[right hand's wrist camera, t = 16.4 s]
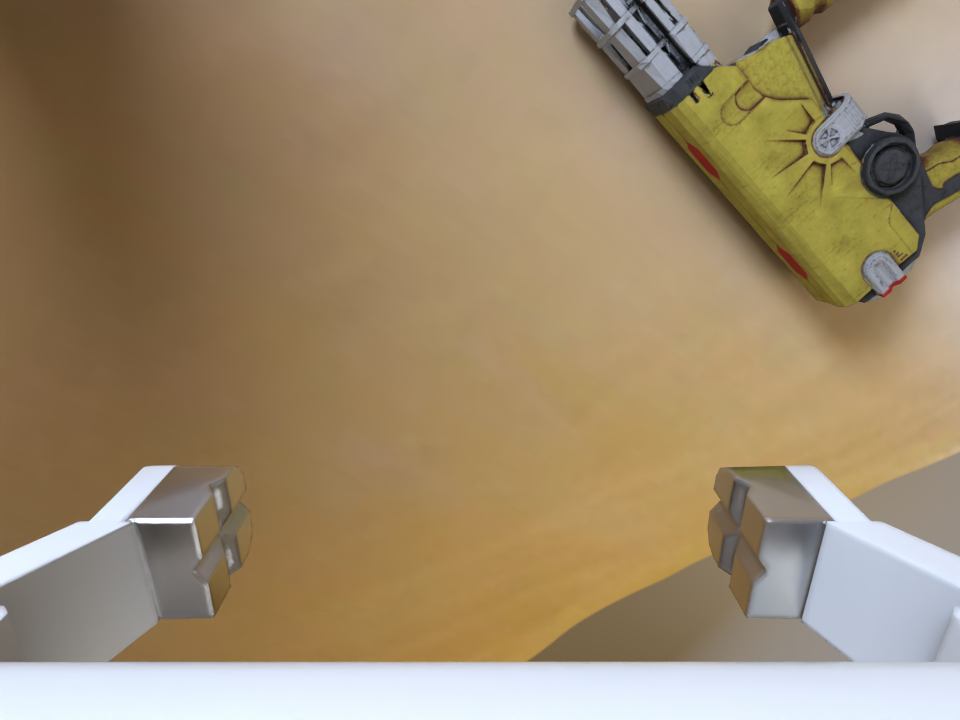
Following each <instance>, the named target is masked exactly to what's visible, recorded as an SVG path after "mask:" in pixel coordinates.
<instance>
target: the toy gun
mask: <svg viewBox="0 0 960 720" xmlns="http://www.w3.org/2000/svg"><path fill="white" fill-rule="evenodd" d="M603 1H604V3H605V4H606V5H607V6H608V7H609V9H608V10H607V11H606V10H605V8H604V7H603V5H602V4H601V2H600V1H599V0H576V2H575V4H574V6H573V7H572V9H571V11H570V12H569V14H570V16H571V17H573V16H574V17H575V19H576V20H577V21H578V22H579V23H580V24H581V25H582V27H583V28H584V29H585V30H586V31H587V32H588V34H589V35H590V36H591V37H592V38H593V39H594V40H595V42H596V43H597V45H596V46H597V47H598V48H599V49H600V48H602V50H603V51H604V52H605V53H606V54H607V55H608V56H609V57H610V59H611V60H612V61H613V62H614V63H615V64H616V65H617V67H618V68H619V69H620V70H621V71H622V72H623V73H624V74H625V75H624V77H625V78H626V80H628V79H629V80H630V81H631V83H632V84H633V85H634V86H635V88H636V89H637V90H638V91H639V92H640V94H641V95H642V96H643V97H644V100H645V101H646V102H647V104H646V108H647V109H648V110H649V111H650V112H651V113H652V114H653V115H654V116H655V117H656V118H657V120H658V121H659V122H660V123H661V124H662V125H663V126H664V127H665V129H666V130H667V131H668V132H669V133H670V134H671V135H672V137H673V138H674V139H675V140H676V141H677V142H678V143H679V145H680V146H681V147H682V148H683V149H684V150H685V151H686V152H687V154H688V155H689V156H690V157H691V158H692V159H693V160H694V162H695V163H696V164H697V165H698V166H699V167H700V168H701V170H702V171H703V172H704V173H705V174H706V175H707V176H708V177H709V179H710V180H711V181H712V182H713V183H714V184H715V185H716V187H717V188H718V189H719V190H720V191H721V192H722V193H723V194H724V196H725V197H726V198H727V199H728V200H729V201H730V202H731V204H732V205H733V206H734V207H735V208H736V209H737V210H738V212H739V213H740V214H741V215H742V216H743V217H744V218H745V219H746V221H747V222H748V223H749V224H750V225H751V226H752V227H753V229H754V230H755V231H756V232H757V233H758V234H759V235H760V236H761V238H762V239H763V240H764V241H765V242H766V243H767V244H768V246H769V247H770V248H771V249H772V250H773V251H774V252H775V254H776V255H777V256H778V257H779V258H780V259H781V260H782V261H783V263H784V264H785V265H786V266H787V267H788V268H789V269H790V271H791V272H792V273H793V274H794V275H795V276H796V277H797V279H798V280H799V281H800V282H801V283H802V284H803V285H804V286H805V288H806V289H807V290H808V291H809V292H810V293H811V294H812V296H813V297H814V298H815V299H816V300H819V301H823V302H827V303H830V304H833V305H835V306H838V307H847V306H849V305H852V304H854V303H857V302H863V303H865V302H868V301H873V300H877V299H878V298H880V297H881V296H882V297H885V296H887V295H888V294H889V293H890V292H891V291H892V288H893V286H895V285H898V284H900V283H902V282H903V281H904V280H905V279H906V278H907V276H906V275H905V274H906V273H907V272H908V271H909V270H910V269H912V266H913V264H914V262H915V260H916V258H918V257H919V255H920V251H921V248H922V244H923V241H924V237H925V225H924V221H925V219H926V218H927V217H929V216H930V215H931V214H933V213H934V212H936V211H937V210H939V209H941V208H942V207H944V206H946V205H947V204H949V203H951V202H952V201H954V200H956V199H957V198H959V197H960V121H953V122H949V123H947V124H944V125H938V126H934V130H935V135H936V139H937V141H938V143H936V144H935V145H934V146H932V147H931V148H930V149H929V150H927V151H926V152H925V153H923V154H920V155H919V152H918V150H917V148H916V143H915V134H914V131H913V128H912V127H911V125H910V124H909V122H908V121H906V120H905V119H904V118H903V117H901V116H900V115H898V114H892V113H886V112H884V113H882V114H879V115H876V116H873V117H871V118H868V119H867V120H866V117H867V116H866V115H865V114H864V113H863V112H862V110H861V109H860V108H859V106H858V105H857V104H856V102H855V101H854V100H853V99H852V97H851V96H850V94H849V93H844V94H841V95H837V96H833V97H832V96H831V93H830V91H829V89H828V87H827V85H826V83H825V81H824V79H823V77H822V75H821V73H820V71H819V68H818V66H817V64H816V62H815V60H814V58H813V56H812V54H811V52H810V50H809V48H808V46H807V44H806V42H805V40H804V38H803V36H802V34H801V32H800V30H799V28H800V27H801V26H803V25H804V24H805V23H807V22H808V21H810V19H811V17H812V15H813V14H817V13H822V12H823V11H824V10H826V9H827V8H828V7H829V6H831V5H832V3H833V1H834V0H771V1H770V6H769V8H768V11H769V13H770V15H771V17H772V19H773V21H774V23H775V25H776V27H777V29H778V30H777V29H775V30H773V31H771V32H770V33H769V34H768V35H766V36H765V37H764V38H763V39H762V40H760V41H759V42H758V43H757V44H755V45H753V46H751V47H750V48H749V49H748V50H747V51H746V53H745V54H744V55H743V56H742V57H741V58H740V59H738V60H736V61H734V62H732V63H730V64H728V65H726V66H723V65H722V64H721V63H720V62H719V61H718V59H717V58H716V57H715V56H714V54H713V53H712V52H711V51H710V50H709V46H708V44H707V43H705V44H704V43H703V41H702V40H701V39H700V38H699V37H698V35H697V34H696V33H695V32H694V30H693V29H692V28H691V27H690V25H689V24H688V23H687V21H688V20H687V18H686V17H682V16H681V14H680V13H679V12H678V11H677V9H676V8H675V7H674V6H673V5H672V3H671V2H670V1H669V0H603ZM579 10H580V11H581V12H580V11H579ZM881 121H887V122H889V123H891V124H894V125H895V127H896V129H897V131H896V133H892V132H885V131H880V130H875V129H870V128H869V127H870V126H872V125H874V124H877V123H879V122H881Z"/></svg>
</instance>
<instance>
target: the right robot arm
mask: <svg viewBox="0 0 960 720" xmlns="http://www.w3.org/2000/svg"><path fill="white" fill-rule="evenodd" d="M245 490H246V485H245V480H244V475H243V472H242V471H241V470H240V469H239V468H238V467H226V466H177V465H158V466H147V467H143V468H142V469H141V470H140V471H139V472H138V473H137V474H136V475H135V476H134V477H133V478H132V479H131V480H130V481H129V482H128V483H127V484H126V485H125V486H124V487H123V488H122V489H121V490H120V491H119V492H118V493H117V494H116V495H115V496H114V497H113V498H112V499H111V500H110V501H109V502H108V503H107V504H106V505H105V506H104V507H103V508H102V509H101V510H100V511H99V512H98V513H97V514H96V515H95V516H94V517H93V518H92V519H91V520H90V521H79V522H77V523H75V524H72V525H70V526H68V527H66V528H63V529H61V530H59V531H57V532H54V533H52V534H50V535H48V536H45V537H43V538H41V539H39V540H36V541H34V542H32V543H30V544H27V545H25V546H23V547H21V548H18V549H16V550H14V551H12V552H9V553H7V554H5V555H3V556H0V720H960V557H959V556H957V555H955V554H953V553H951V552H948V551H946V550H944V549H942V548H939V547H937V546H935V545H933V544H930V543H928V542H926V541H924V540H921V539H919V538H917V537H915V536H912V535H910V534H908V533H906V532H903V531H901V530H899V529H897V528H894V527H892V526H890V525H888V524H885V523H883V522H881V521H870V520H869V519H868V518H867V517H866V516H865V515H864V514H863V513H862V512H861V511H860V510H859V509H858V508H857V507H856V506H855V505H854V504H853V503H852V502H851V501H850V500H849V499H848V498H847V497H846V496H845V495H844V494H843V493H842V492H841V491H840V490H839V489H838V488H837V487H836V486H835V485H834V484H833V483H832V482H831V481H830V480H829V479H828V478H827V477H826V476H825V475H824V474H823V473H822V472H821V471H820V470H819V469H818V468H816V467H813V466H811V465H795V466H764V467H726V468H720V469H719V471H718V473H717V475H716V479H715V484H714V490H715V492H716V494H717V495H718V497H719V498H720V501H719V502H718V503H717V505H716V506H715V507H714V508H713V509H712V510H711V511H710V514H709V522H708V538H709V546H710V549H711V552H712V555H713V558H714V560H715V561H716V563H717V565H718V567H719V568H721V569H722V570H724V571H725V572H727V573H728V574H730V575H731V579H730V584H729V587H730V589H731V591H732V593H733V595H734V596H735V598H736V600H737V602H738V603H739V605H740V607H741V609H742V611H743V613H744V614H745V616H746V618H774V619H802V620H801V622H802V623H803V624H805V625H806V626H807V627H809V628H810V629H811V630H812V631H814V632H815V633H816V634H817V635H819V636H820V637H821V638H823V639H824V640H825V641H826V642H828V643H829V644H830V645H831V646H833V647H834V648H835V649H836V650H838V651H839V652H840V653H842V654H843V655H844V656H845V657H847V658H848V659H849V660H850V661H852V662H108V661H110V660H111V659H112V658H114V657H115V656H116V655H117V654H119V653H120V652H121V651H122V650H124V649H125V648H126V647H128V646H129V645H130V644H131V643H133V642H134V641H135V640H136V639H138V638H139V637H140V636H142V635H143V634H144V633H145V632H147V631H148V630H149V629H150V628H152V627H153V626H154V625H156V624H157V623H158V622H159V621H158V619H186V618H214V616H215V615H216V613H217V611H218V609H219V607H220V605H221V604H222V602H223V600H224V598H225V596H226V595H227V593H228V591H229V589H230V587H231V584H230V579H229V575H230V574H232V573H233V572H235V571H236V570H238V569H239V568H241V567H242V565H243V563H244V561H245V559H246V557H247V555H248V552H249V548H250V544H251V539H252V520H251V514H250V511H249V510H248V509H247V508H246V507H245V506H244V505H243V503H242V502H241V501H240V498H241V497H242V495H243V494H244V492H245Z"/></svg>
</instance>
